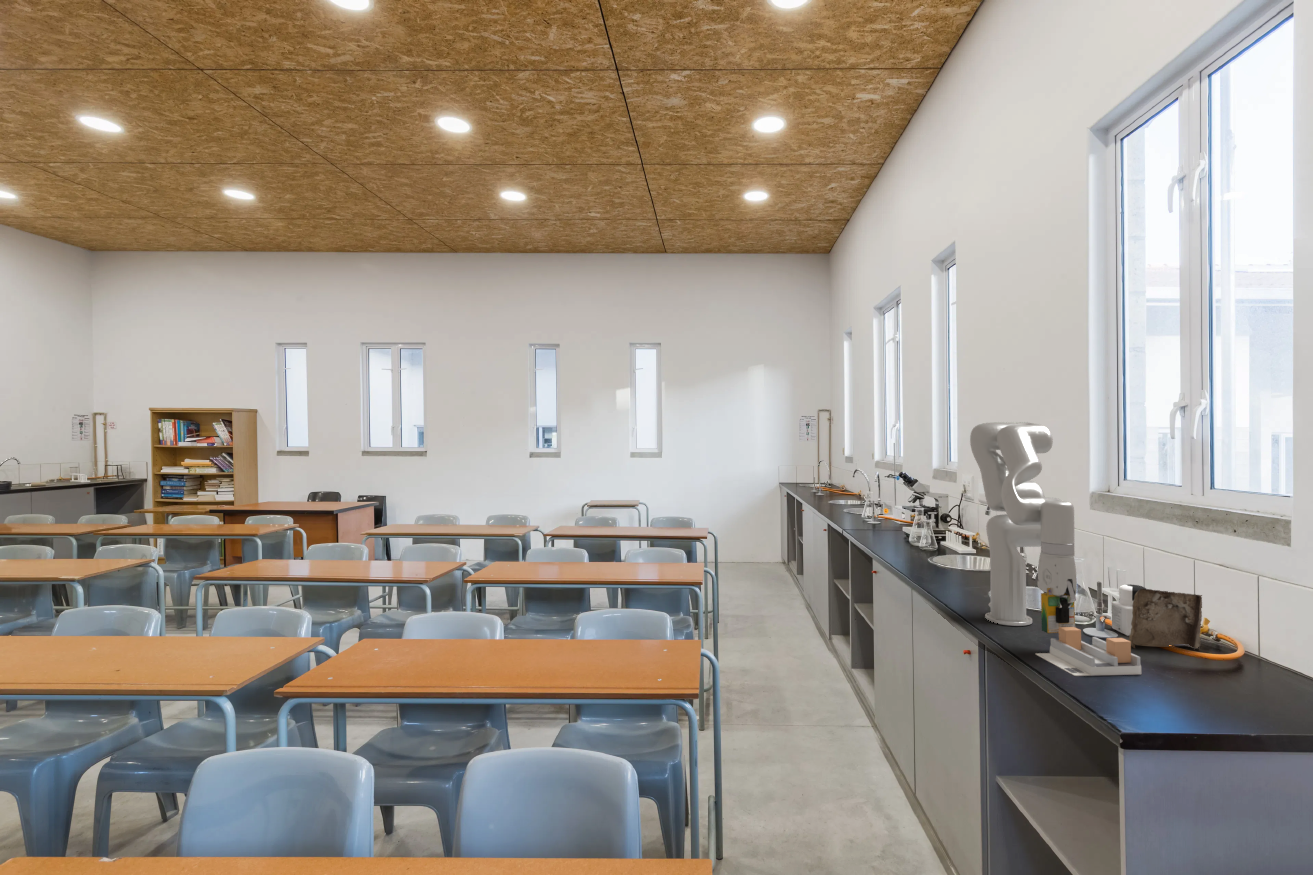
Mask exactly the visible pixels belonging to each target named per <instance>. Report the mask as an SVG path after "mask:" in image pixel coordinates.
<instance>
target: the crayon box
mask: <svg viewBox="0 0 1313 875" xmlns="http://www.w3.org/2000/svg"><path fill="white" fill-rule="evenodd" d="M1064 595H1066V593H1064ZM1063 599H1065V598H1062V600H1063ZM1040 606H1041V609H1040V610H1041V614H1040V615H1041V631H1042V632H1044V633H1046V634H1048V635H1049V634H1057V633H1058V634H1059V627H1075V628H1076V617H1075V616H1076V614H1075V613H1076V612H1075V601H1074V602H1072V603H1071V607H1070V608H1069V623H1056V607H1058V606H1057V596H1055V595H1052V594H1051V593H1050V588H1047V593H1044V592H1041V593H1040Z"/></svg>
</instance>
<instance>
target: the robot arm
mask: <svg viewBox="0 0 1313 875" xmlns="http://www.w3.org/2000/svg"><path fill="white" fill-rule="evenodd" d="M1052 435H1053V434H1052V432H1051V431H1050V430H1049V428H1048V427H1047V426H1045V425H1043V424H1040V423H1033V422H1028V421H1027V422H1025V421H1024V422H1023V421H1019V422H1018V421H1015V422H1014V421H1013V422H1012V421H1011V422H1008V421H1007V422H1004V421H1003V422H1002V421H1001V422H999V421H998V422H985V423H981V424H977V425H975V426H974V427H973V428H972V430H971V432H970V436H969V444H970V448H971V452H972V455H973V457H974V460H975V461H976V464H977V465H978V467H979V472H980V475H981V480H982V485H983V486H982V487H983V490H984V491H983V492H984V497H985V500H986V504H987V507H988V508H989V509H990V510H992V511H995V512H1001V513H1002V512H1003V513H1004V514H996V515H994V516H991V517H990V518H989V519H988V520H987V523H986V526H985V527H986V535H987V541H988V547H989V561H990V562H989V567H990V571H989V573H990V574H989V575H990V579H989V581H990V602H989V603H988V606H989V608H990V612H986V613H985V615H984V619H985V618H986V619H987V620H986V619H985V620H986V621H988V620H989V621H988V622H990V621H991V622H990V623H993V622H994V624H997V623H998V625H1003V626H1012V627H1022V626H1023V627H1024V626H1029V625H1032V623H1033V618H1032V617H1031V616H1029V615H1027V563H1026V561H1025V558H1024V556H1023V555H1022V554H1021V553H1020V552H1019V550H1018V548H1022V547H1026V548H1027V547H1030V548H1031V547H1033V548H1034V547H1038V548H1039V547H1040V552H1039V559H1038V567H1037V588H1038V589H1039V590H1040V591H1042V593H1047V588H1050V593H1051V594H1052V595H1055V596H1057V606H1058V607H1056V623H1069V608H1070V607H1071V603H1072V602H1074V603H1075V602H1077V597H1076V595H1077V588H1078V586H1077V585H1078V583H1077V582H1078V581H1077V568H1076V561H1075V557H1076V556H1075V552H1076V551H1075V506H1074V504H1073V503H1071V502H1069V501H1066V500H1062V499H1060V498H1057V497H1045V493H1044V491H1043V488H1042V487H1041V486H1040V484H1039V483H1038V482H1036V481H1034V480H1033V479H1035V478H1036V477H1038V476H1039V475H1040V474H1041V472H1042V471H1043V470H1042V469H1043V465H1042V462H1041V460H1040V457H1039V455H1038V454H1047V453H1048V452H1050V451H1051V449H1052V446H1053V443H1054V442H1053V440H1054V439H1053V436H1052ZM997 451H1000V453H1001V454H1000V453H998V452H997ZM1005 513H1006V514H1005ZM1064 593H1066V595H1064ZM1062 598H1065V599H1063V600H1062Z"/></svg>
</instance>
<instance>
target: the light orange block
mask: <svg viewBox="0 0 1313 875" xmlns="http://www.w3.org/2000/svg"><path fill="white" fill-rule="evenodd" d="M1128 640H1129V639H1126V638H1124V637H1107V638H1106V639H1105V642H1106V652H1107V653H1109V654H1111V655H1113V656H1115V657H1117V658H1118V663H1130V662H1131V653H1132V645H1131V641H1128Z"/></svg>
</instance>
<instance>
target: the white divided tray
mask: <svg viewBox="0 0 1313 875" xmlns="http://www.w3.org/2000/svg"><path fill="white" fill-rule="evenodd" d="M1091 640H1092V642H1091V643H1092V644H1089V643H1086V641H1083V640H1081V650H1077V649H1075V648H1073V647H1071V646H1069V645H1067V644H1065V643H1063V642H1061V641H1059V639H1057V638H1055V637H1050V646H1049V652H1047V653H1046V652H1042V653H1041V652H1039V653H1037V652H1036V653H1035V655H1036V656H1038V657H1039V658H1042V659H1043V660H1045V661H1047V662H1048V663H1050V664H1053V665H1054V666H1056V667H1057V668H1059V669H1061V670H1062V671H1065V672H1067V673H1068V674H1070V675H1072V676H1074V677H1084V676H1085V677H1087V676H1092V677H1093V676H1123V675H1124V676H1125V675H1126V676H1127V675H1128V676H1130V675H1133V676H1134V675H1142V665H1141V656H1139V655H1137V654H1134V653H1132V652H1131V662H1130V663H1118V658H1117V657H1115V656H1113V655H1111V654H1109V653H1107V652H1106V640H1103V639H1100V638H1098V637H1096V636H1094V637H1091Z"/></svg>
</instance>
